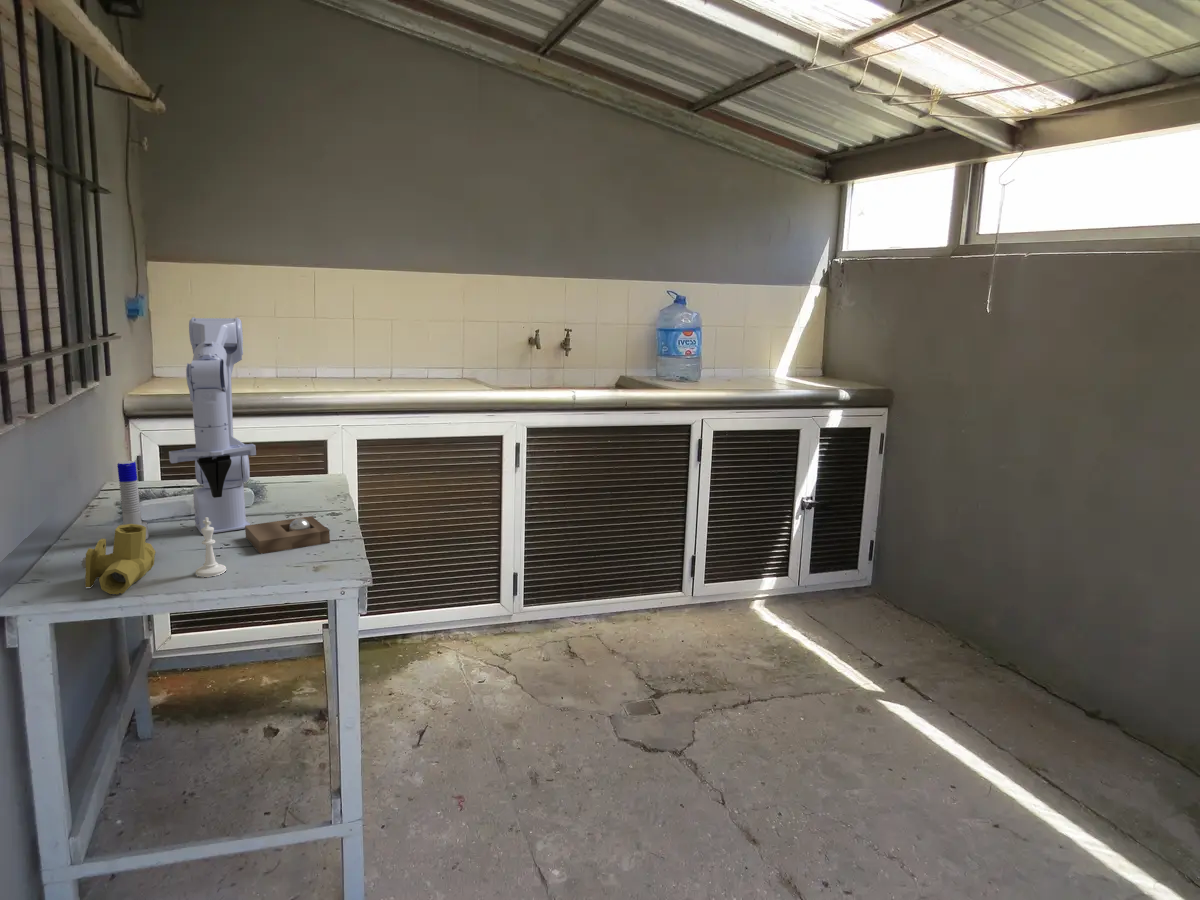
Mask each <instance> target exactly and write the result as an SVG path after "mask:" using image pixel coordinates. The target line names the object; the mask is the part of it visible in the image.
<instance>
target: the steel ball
mask: <svg viewBox="0 0 1200 900" xmlns="http://www.w3.org/2000/svg"><path fill="white" fill-rule="evenodd" d="M297 518H298V519H295V518H294V519H295V520H293V521H292V522H291V524H290V526H289V531H297V530H303V529H310V524H309V522H308V521H307V520H305V519H303V518H302V517H297Z"/></svg>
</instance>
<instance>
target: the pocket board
mask: <svg viewBox="0 0 1200 900" xmlns="http://www.w3.org/2000/svg"><path fill="white" fill-rule="evenodd" d="M298 518H299V517H297V518H296V517H295V518H291V519H290V518H288V519H282V520H275V521H269V522H263V523H262V522H261V523H255V524H251V525H247V526H245V529H244V531H245V539H248V540H249V541H250V542H251V543H252V544H251V543H250V542H249V541H248V540H247V541H248V542H249V543H250V544H251V545H252V547H253V548H254V549H255V548H256V549H257V550H258V551H257V550H256V549H255V550H256V551H257V553H259V554H260V555H262V554H261V553H263V554H268V553H269V554H270V553H274V552H281V551H285V550H286V551H287V550H292V549H298V548H306V547H310V546H311V547H312V546H317V545H322V544H323V545H324V544H330V543H331V540H330V539H331V537H330V530H329V529H328V528H327V527H325V525H323V524H322V523H321V522H320V521H318V520H317V519H316V518H314V517H313V516H312V515H311V516H309V515H308V516H304V517H301V518H303V519H305V520H307V521H308V522H309V524H310V529H303V530H297V531H289V526H290V524H291V522H292V521H293V520H295V519H298Z"/></svg>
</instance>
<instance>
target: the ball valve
mask: <svg viewBox="0 0 1200 900" xmlns="http://www.w3.org/2000/svg"><path fill="white" fill-rule="evenodd" d="M146 540H147V539H146V527H144V526H142V525H137V524H126V525H120V524H119V525H117V527H116V528H115V530H114V538H113V548H112V552H111V553H109V554H106V553H107V549H106V548H107V539H106V538H100V539H99V540H97V543H96V545H95V548H91V547H88V549H87V551H86V553H85V557H83V558H82V560H81V566H82V569H85V579H84V580H85V581H84V582H85V586H84V587H91V586H92V585H93V584H95V583H96V580H97V579H98V578H99V579H98V581H99V585H100V588H101V590H102V591H103V592H105V593H108V594H109V595H111V594H116V595H120V594H119V593H121V594H125V592H127V590H128V589H129V588H130V587H131V586H132V585H133V584H135V583H136V582H137V581H139V580H141V579H142V578H144V576H145V575H146V574H147V573H148V572H149V571H151V570H152V568H153V567H154V565H155V556H156V553H157V552H156V550H155V549H154V546H153V545H152V544H151V543H149V542H146ZM134 582H135V583H134ZM93 586H94V585H93ZM93 586H92V587H93ZM92 587H91V588H92Z"/></svg>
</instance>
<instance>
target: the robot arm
mask: <svg viewBox="0 0 1200 900" xmlns="http://www.w3.org/2000/svg"><path fill="white" fill-rule="evenodd" d="M242 324H243V323H242V320H241V319H240V317H232V318H230V317H229V318H227V317H225V318H224V317H223V318H221V317H219V318H217V317H215V318H213V317H212V318H211V317H210V318H209V317H206V318H205V317H202V318H201V317H191V318H190V319H189V321H188V333H189V341H190V345H191V349H192V354H193V357H192V360H191V363H188V362H187V363H186V367H185V368H186V369H185V372H186V373H185V374H186V375H185V376H186V385H187V387H188V391H189V397H190V398H189V399H190V402H191V403H192V415H193V416H192V417H193V428H194V430H193V431H194V441H195V447H191V448H186V449H179V450H178V449H177V450H171V451H170V450H169V451H168V458H169V459H168V460H169V462H170V464H178V463H182V462H190V461H191V462H192V461H194V472H195V473H194V474H195V480H196V482H197V483H198V484H199V485H201V486H203V487H199V488H194V489H193V493H192V494H193V507H194V521H195V522H194V523H195V527H196V528H197V529H198V531H199V533H200V534H201V535H203V533H202V531H201V529H202V528H204V527H206V526H205V524H204V523H203V521H204V520H205V518H206V517H208V518H209V521H210V522H211V524H210V525H209V527H213V528H214V531H213V534H217V533H222V532H230V531H231V532H232V531H237V530H245V526H247V525H252V524H251V523H250V522H249V521H248V520H247V517H246V516H247V514H246V504H245V502H246V501H245V490H244V483H248V481H250V478H251V477H250V476H251V475H250V474H251V473H250V470H251V469H250V458H249V457H250V456H257V450H256V449H257V448H256V444H254V443H249V444H247V443H244V442H242V441H240V440H239V439H237V438H235V437H234V425H233V424H234V423H233V393H232V392H233V391H232V390H233V389H232V376H233V370H234V366H235V364H237V363H239V362H241V361H243V355H244V334H243V331H244V330H243V325H242Z"/></svg>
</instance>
